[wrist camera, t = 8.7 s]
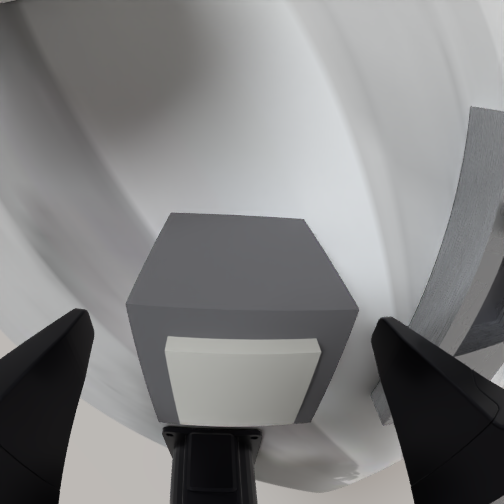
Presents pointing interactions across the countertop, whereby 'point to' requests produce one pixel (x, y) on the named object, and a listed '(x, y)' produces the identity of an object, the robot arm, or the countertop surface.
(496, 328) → the socket plate
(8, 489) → the robot arm
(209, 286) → the plug
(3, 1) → the white cup
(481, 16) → the countertop surface
